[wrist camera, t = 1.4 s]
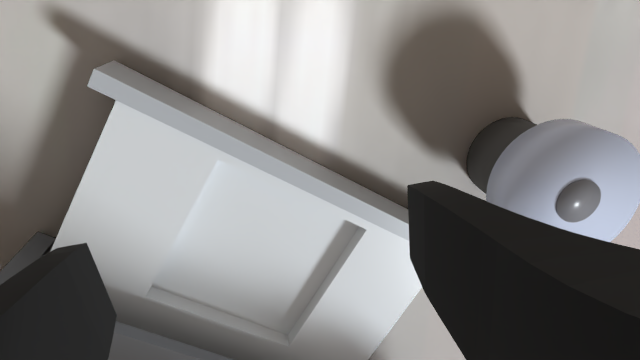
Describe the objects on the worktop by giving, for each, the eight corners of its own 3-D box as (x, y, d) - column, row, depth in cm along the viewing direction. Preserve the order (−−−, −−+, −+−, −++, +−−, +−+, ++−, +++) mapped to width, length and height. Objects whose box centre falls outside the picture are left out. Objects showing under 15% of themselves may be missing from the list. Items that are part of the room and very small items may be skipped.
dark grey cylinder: (557, 140, 22) (610, 164, 19) (509, 205, 23) (550, 238, 20) (500, 102, 21) (545, 121, 17) (451, 172, 22) (486, 202, 18)
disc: (635, 156, 19) (674, 172, 17) (552, 258, 20) (580, 282, 18) (544, 94, 17) (577, 104, 15) (460, 209, 18) (482, 231, 17)
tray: (449, 230, 23) (470, 255, 20) (345, 374, 25) (353, 409, 23) (114, 60, 17) (94, 68, 15) (27, 265, 20) (-1, 297, 18)
